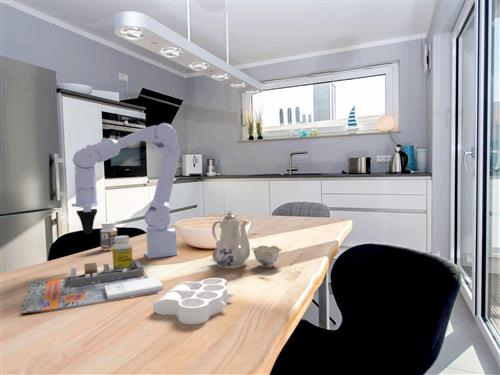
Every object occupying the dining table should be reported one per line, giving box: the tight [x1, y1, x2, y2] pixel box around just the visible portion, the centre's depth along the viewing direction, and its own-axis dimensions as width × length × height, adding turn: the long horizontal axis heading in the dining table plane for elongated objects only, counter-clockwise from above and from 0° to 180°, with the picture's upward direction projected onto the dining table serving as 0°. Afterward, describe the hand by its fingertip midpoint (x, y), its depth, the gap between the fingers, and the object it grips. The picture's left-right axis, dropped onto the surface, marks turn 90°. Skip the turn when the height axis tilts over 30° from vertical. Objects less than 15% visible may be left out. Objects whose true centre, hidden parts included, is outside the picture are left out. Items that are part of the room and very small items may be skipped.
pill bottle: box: [99, 221, 118, 252], centre depth 126 cm, size 6×6×10 cm
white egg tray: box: [152, 277, 235, 325], centre depth 72 cm, size 3×18×15 cm
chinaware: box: [211, 210, 282, 269], centre depth 104 cm, size 28×17×17 cm, turn 45°
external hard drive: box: [103, 276, 164, 300], centre depth 82 cm, size 2×8×12 cm
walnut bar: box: [83, 262, 99, 277], centre depth 93 cm, size 3×8×3 cm, turn 27°
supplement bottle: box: [111, 235, 134, 272], centre depth 99 cm, size 5×5×10 cm
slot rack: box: [70, 259, 145, 287], centre depth 94 cm, size 18×10×2 cm, turn 117°
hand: (87, 233), depth 104 cm, fingers closed
